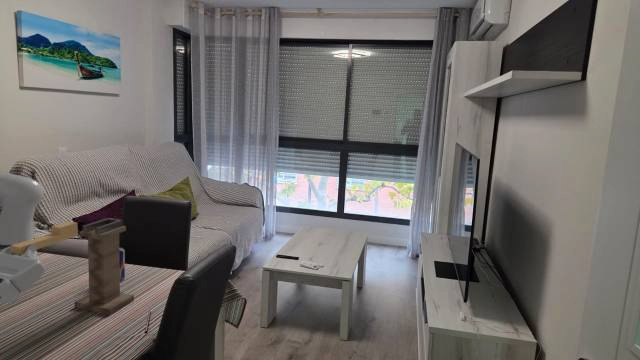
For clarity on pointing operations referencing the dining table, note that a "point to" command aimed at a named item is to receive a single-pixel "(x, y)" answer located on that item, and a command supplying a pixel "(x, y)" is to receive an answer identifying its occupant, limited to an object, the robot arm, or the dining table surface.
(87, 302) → the holder stand
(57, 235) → the wooden stick
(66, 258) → the dining table surface
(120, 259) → the energy drink
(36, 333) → the dining table surface
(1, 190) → the robot arm
